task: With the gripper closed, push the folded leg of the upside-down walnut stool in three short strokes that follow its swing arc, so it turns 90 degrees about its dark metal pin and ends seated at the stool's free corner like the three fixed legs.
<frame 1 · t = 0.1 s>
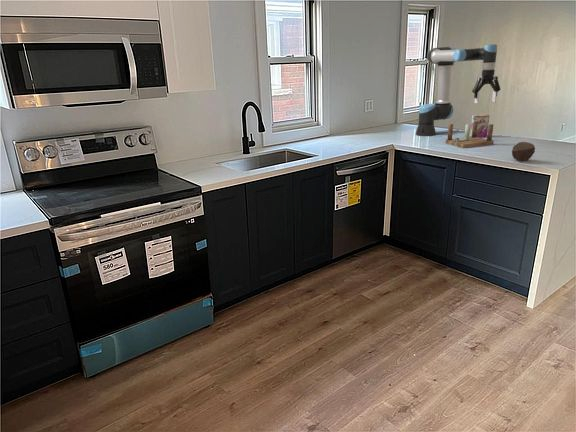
hand: (485, 102, 285), 28 cm above the countertop, fingers open, 13 cm apart
rock: (521, 160, 245), on the countertop
stool: (468, 143, 295), on the countertop
hinged leg: (462, 132, 291), point 8 cm above the countertop, hinge at 90.0°
candy bar box: (478, 137, 315), on the countertop
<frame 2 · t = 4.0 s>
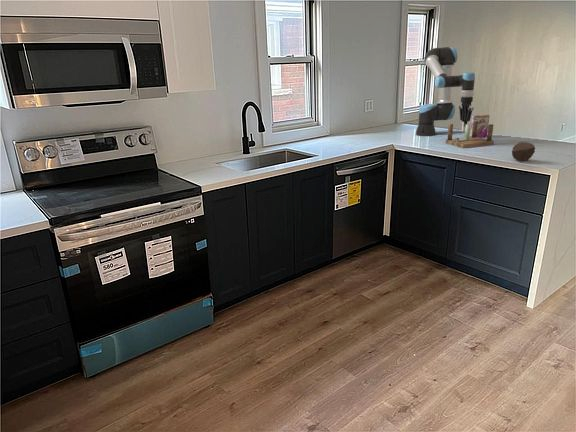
hand: (463, 131, 295), 9 cm above the countertop, fingers closed
hinged leg: (462, 133, 291), point 8 cm above the countertop, hinge at 89.5°, touching gripper
everything else where it was.
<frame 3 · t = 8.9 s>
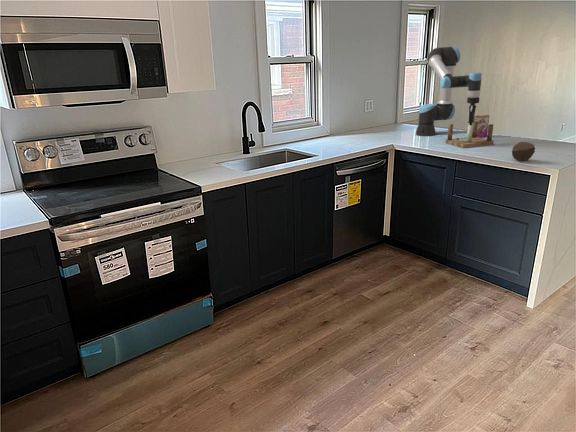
hand: (470, 132, 290), 9 cm above the countertop, fingers closed
hinged leg: (463, 133, 289), point 8 cm above the countertop, hinge at 55.3°, touching gripper
everything else where it was.
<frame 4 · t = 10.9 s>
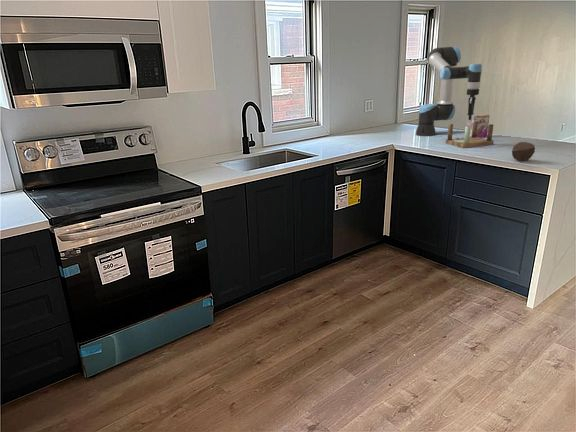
hand: (469, 124, 286), 14 cm above the countertop, fingers closed
hinged leg: (462, 134, 287), point 8 cm above the countertop, hinge at 15.3°
everything else where it was.
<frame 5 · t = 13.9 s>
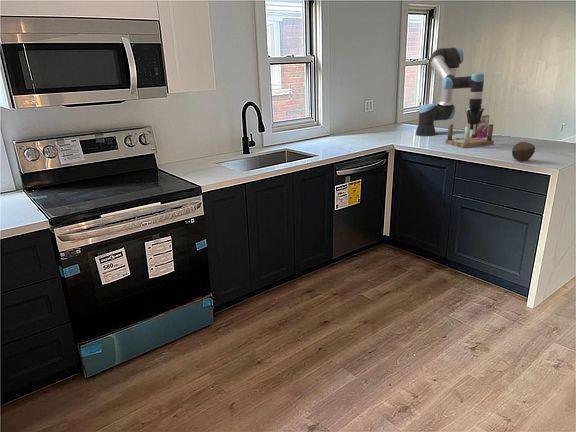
hand: (472, 134, 284), 8 cm above the countertop, fingers closed
hinged leg: (462, 134, 287), point 8 cm above the countertop, hinge at 15.1°, touching gripper
everything else where it was.
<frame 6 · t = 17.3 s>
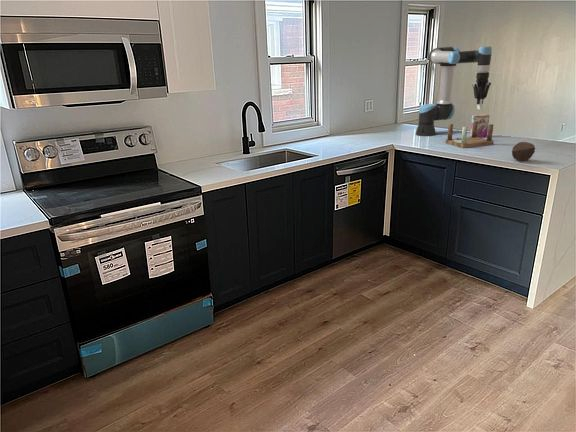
hand: (479, 109, 281), 24 cm above the countertop, fingers closed
hinged leg: (460, 134, 286), point 8 cm above the countertop, hinge at -2.0°
everything else where it was.
at the end: hinged leg at -2° (first picture: +90°) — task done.
